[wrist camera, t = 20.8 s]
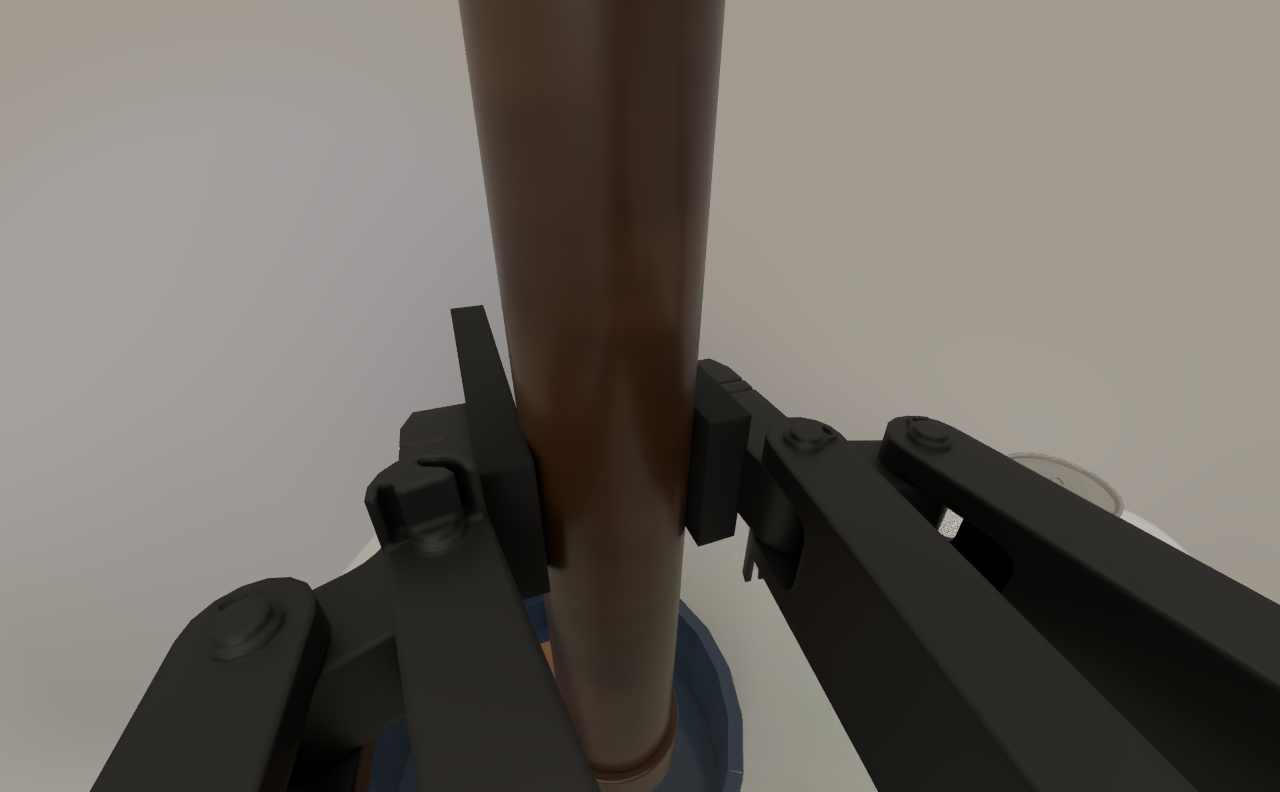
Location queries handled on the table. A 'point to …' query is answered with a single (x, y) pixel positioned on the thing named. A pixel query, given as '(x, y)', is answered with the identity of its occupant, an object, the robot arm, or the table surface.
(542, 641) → the bowl
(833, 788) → the table surface
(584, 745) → the muddler
